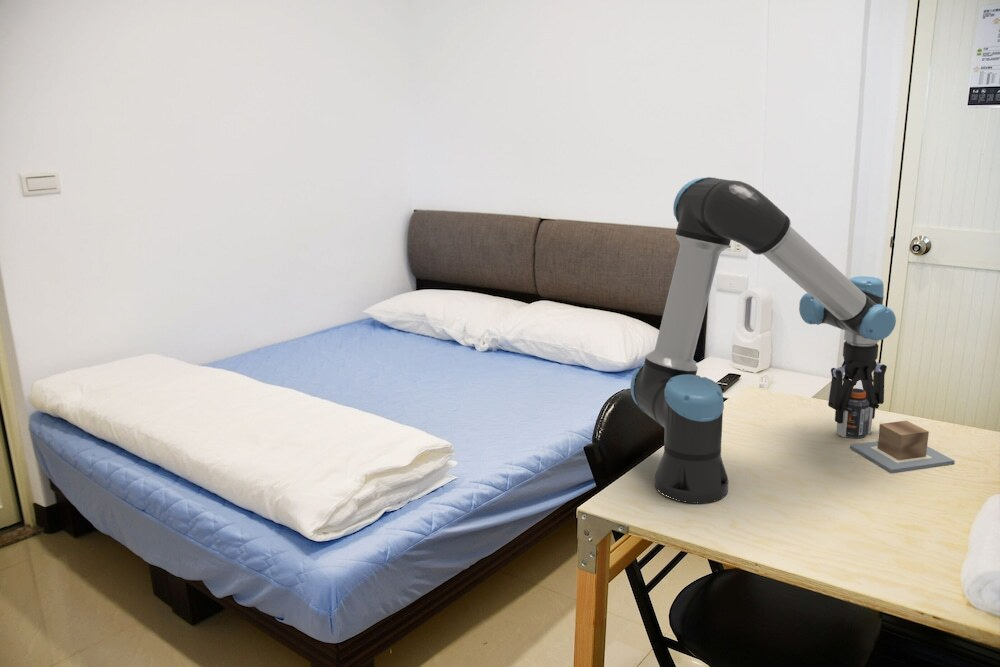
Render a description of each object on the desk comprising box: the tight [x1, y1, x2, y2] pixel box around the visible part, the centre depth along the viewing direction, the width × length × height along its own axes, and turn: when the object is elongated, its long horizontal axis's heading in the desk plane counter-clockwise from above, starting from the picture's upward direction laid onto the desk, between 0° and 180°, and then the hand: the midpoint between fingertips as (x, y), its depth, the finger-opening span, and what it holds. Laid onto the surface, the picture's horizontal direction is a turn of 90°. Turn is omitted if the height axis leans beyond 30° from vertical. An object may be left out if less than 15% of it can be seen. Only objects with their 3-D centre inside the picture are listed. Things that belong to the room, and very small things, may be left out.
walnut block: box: [877, 420, 930, 460], centre depth 176 cm, size 7×7×6 cm
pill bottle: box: [845, 387, 869, 439], centre depth 188 cm, size 6×6×11 cm
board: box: [849, 440, 955, 474], centre depth 177 cm, size 16×14×1 cm
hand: (853, 432), depth 190 cm, fingers open, 6 cm apart
